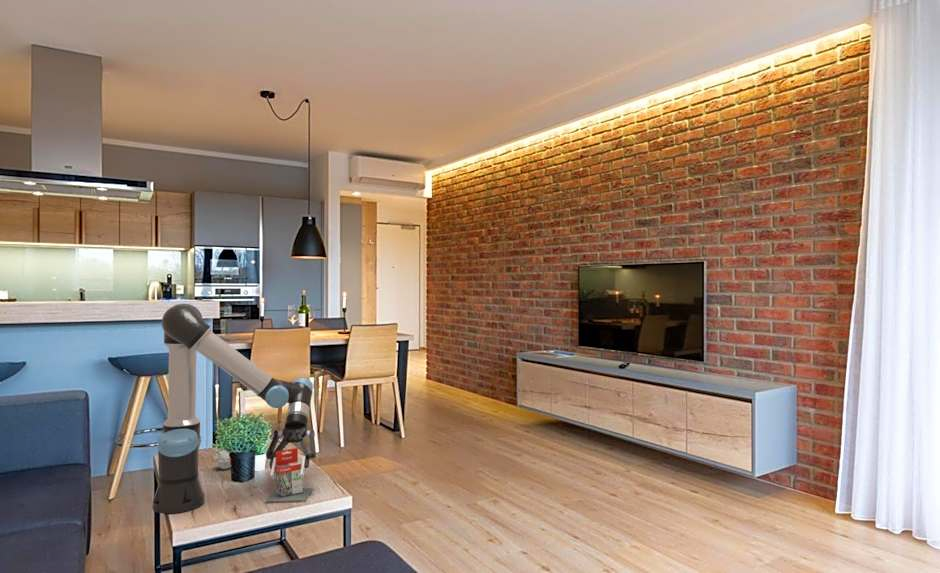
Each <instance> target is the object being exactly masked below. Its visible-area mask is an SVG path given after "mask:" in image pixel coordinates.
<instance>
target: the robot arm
mask: <svg viewBox="0 0 940 573" xmlns="http://www.w3.org/2000/svg"><path fill="white" fill-rule="evenodd" d="M161 326H162V330H163V344H164V345H165V346H166V347H167V349H168V384H167V385H168V390H167V391H168V393H167V394H168V395H167V396H168V397H167V401H168V402H167V419H166V420H165V421H164V422H162V434H161V435H160V436H159V438H158V443H157V450H158V453H157V454H158V459H157V460H158V461H157V462H158V485H157V487H156V491H155V494H154V497H153V500H152V510H153V512H155V513H158V514H165V515H166V514H168V513H171V514H178V513H184V512H188V511H189V512H190V511H191V509H192V510H194V508H195V509H197V508H199V507H200V506H202V505H204V503H205V493H204V490H203V487H202V485H201V482H200V479H199V451H200V447H201V443H202V436H201V419H199V417H197V415H196V412H197V411H196V410H197V409H196V408H197V406H196V403H197V402H196V399H197V391H196V390H197V352H198V353H199V354H200V355H202V356H204V357H205V358H206V359H208V360H209V361H211V362H212V363H213V364H214V365H215V366H217V367H219V368H220V369H221V370H222V371H224V372H225V373H226V374H228V375H229V376H231V377H232V378H233V379H235V380H236V381H238V383H240V384H242V385H243V386H245V387H246V388H247V389H248V390H250V391H251V392H253V393H254V394H255V396H257V397H259V398H260V399H262V400H263V401H264V402H265V403H266V404H267V405H268V406H269V407H271V408H273V409H280V408H283V407H284V406H286V405H287V404H288V406H287V407H288V408H287V413H286V418H285V423H284V428H283V430H280V431H279V430H278V429H277V430H274V431H273V432H274V433H273V437H272V439H271V441H270V444H269V446H268V448H267V450H266V453H265V457H266V459H267V460H270V461H269V465H268V466H269V468H270V469H271V470H270V478H271V479H272V480H274V479H276V451H282V450H285V448H286V447H287V446H288V445H289V444H292V443H295V444H296V443H297V444H298V443H299V444H300V446H301V449H302V451H303V453H304V456H302V461H301V464H302V467H301V473H300V475H301V478H302V479H305V473H306V469H308V468H309V467H310V461H311V460H312V459H316V458H317V457H316V447H315V440H314V439H315V436H316V434H315V430H314V429H311V430H308V428H307V427H308V422H309V415H310V407H311V401H312V396H313V387H314V385H313V382H312V381H311V380H309V378H305V377H302V378H299V377H298V378H296V379H294V380H292V381H293V382H291V381H286V380H282V379H278V378H273V376H271V375H269V374H268V372H266V371H264V370H263V369H261V368H260V367H259V366H258V365H257V364H255V363H254V362H253V361H251V360H250V359H248V358H247V357H246V356H244V355H243V354H242V353H240V352H239V351H238V350H237V349H235V348H234V347H233V346H232V345H230V344H229V343H227V342H226V341H225V340H223V339H222V338H221V337H220V336H218V335H217V334H215V333H214V332H213V331H212V330H213V329H212V326H211V325H209V324H207V322H206V321H204V320H203V315H202V313H201V311H200V310H199V309H198V308H197V307H196V306H194V305H192V304H190V303H178V304H175V305H173V306H171V307H170V308H168V309H167V310H166V311H165V312H164V314H163V316H162V318H161ZM282 436H283V437H282ZM306 436H307V437H308V438H309V447H310V452H309V451H308V448H307V446H306V444H305V441H304V438H305V437H306ZM281 437H282V440H281V441H280V443H279V439H280V438H281ZM278 443H279V444H278ZM277 444H278V445H277Z"/></svg>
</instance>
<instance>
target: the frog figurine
mask: <svg viewBox="0 0 940 573" xmlns="http://www.w3.org/2000/svg"><path fill="white" fill-rule="evenodd" d="M225 451H226V450H221V451H219V452H217V453H216V454H215V456H214V457H215V458H214V459H215V461H216V462H217V465H218V467H219V469H221V470H228V469H229V468H231V467H230V457H229V454H230V453H229V452H228V451H226V452H225ZM228 453H229V454H228Z"/></svg>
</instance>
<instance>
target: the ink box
mask: <svg viewBox="0 0 940 573" xmlns="http://www.w3.org/2000/svg"><path fill="white" fill-rule="evenodd" d="M298 450H299V449H298V447H294V448H288V449H283V450H282V451H276V473H275V481H276V482H275V485H276V486H275V489H276V494H277V495H278V496H279V497H284V496H288V495H292V494H297V493H302V492H303V488H304V487H303V478H301V475H300V473H301V467H302V462H300V461H298V460H299V458H298V456H299V453H298V452H299V451H298ZM286 452H289V453H286Z"/></svg>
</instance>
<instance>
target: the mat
mask: <svg viewBox="0 0 940 573" xmlns="http://www.w3.org/2000/svg"><path fill="white" fill-rule="evenodd" d="M312 489H314V487H303V492H302V493H297V494H292V495H288V496H284V497H279V496H278V495H277V494H276V488H274V489H273V490H272V491H271V493H270V494H269V496H268V497H267V499H266V500H265V501H264V504H278V503H279V504H283V503H285V502H288V503H302V502H301V501H306V500H307V501H308V499H309V497H310V495H311V493H312V492H311V491H313V490H312ZM308 496H309V497H308ZM307 498H308V499H307ZM307 501H306V502H307Z"/></svg>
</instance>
